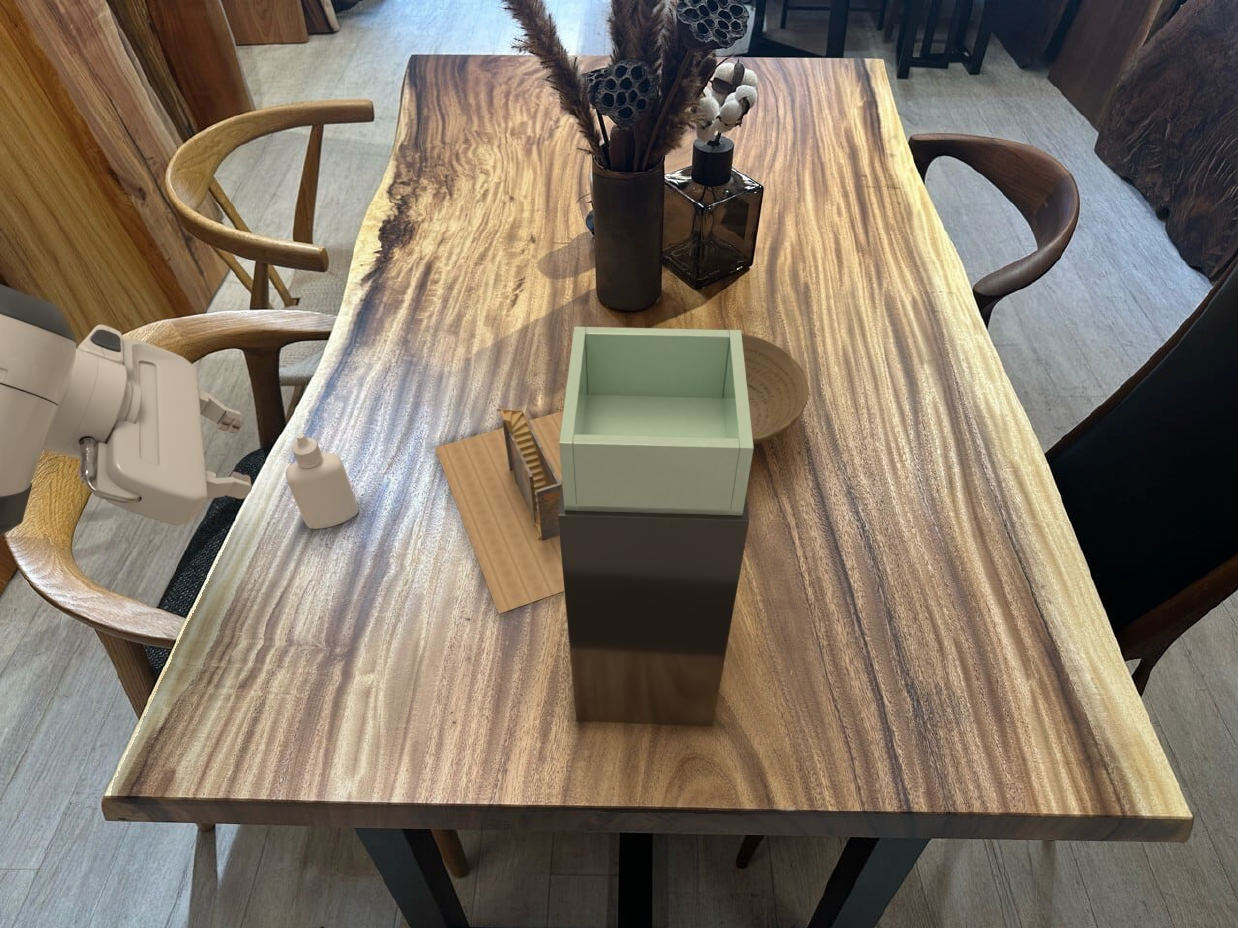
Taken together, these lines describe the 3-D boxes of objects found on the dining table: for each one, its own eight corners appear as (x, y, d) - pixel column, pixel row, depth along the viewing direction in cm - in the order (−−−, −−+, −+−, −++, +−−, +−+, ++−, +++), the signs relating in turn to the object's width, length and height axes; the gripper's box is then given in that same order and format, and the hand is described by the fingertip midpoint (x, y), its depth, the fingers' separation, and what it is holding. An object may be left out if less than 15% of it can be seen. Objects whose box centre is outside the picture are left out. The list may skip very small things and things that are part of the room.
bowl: (823, 473, 91) (836, 422, 85) (665, 499, 89) (668, 447, 83) (768, 371, 104) (777, 320, 98) (629, 390, 101) (629, 339, 95)
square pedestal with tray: (576, 721, 71) (551, 447, 46) (585, 606, 79) (568, 322, 54) (713, 726, 70) (761, 453, 46) (708, 610, 79) (746, 326, 54)
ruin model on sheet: (434, 447, 94) (419, 384, 87) (565, 410, 99) (561, 346, 92) (498, 614, 78) (486, 552, 71) (651, 560, 83) (653, 497, 76)
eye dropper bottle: (314, 498, 89) (281, 419, 80) (364, 501, 88) (336, 422, 80) (300, 529, 86) (264, 450, 77) (351, 532, 85) (321, 453, 77)
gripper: (95, 462, 60) (272, 508, 70) (102, 313, 73) (250, 369, 83) (60, 518, 62) (236, 555, 72) (72, 363, 75) (220, 412, 85)
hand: (243, 454), depth 78 cm, fingers open, 8 cm apart
